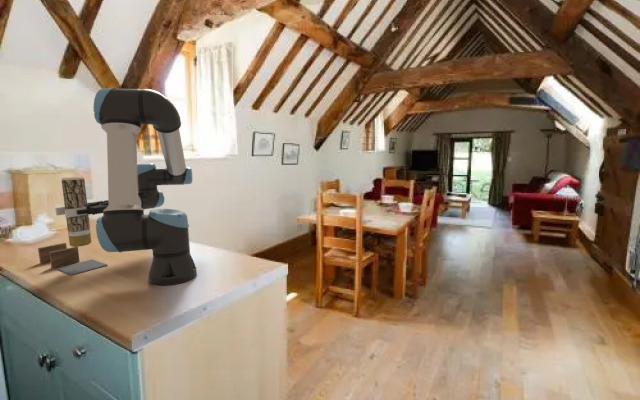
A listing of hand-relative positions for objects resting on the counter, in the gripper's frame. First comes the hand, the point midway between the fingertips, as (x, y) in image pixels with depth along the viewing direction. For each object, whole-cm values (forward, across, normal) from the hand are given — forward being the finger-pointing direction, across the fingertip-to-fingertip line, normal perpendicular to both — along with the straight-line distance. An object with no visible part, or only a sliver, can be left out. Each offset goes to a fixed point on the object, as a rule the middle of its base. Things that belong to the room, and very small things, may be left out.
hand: (60, 212), depth 124 cm
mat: (-4, -1, -22) cm, 22 cm away
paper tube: (-5, 0, -13) cm, 14 cm away
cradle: (-2, +13, -22) cm, 26 cm away
